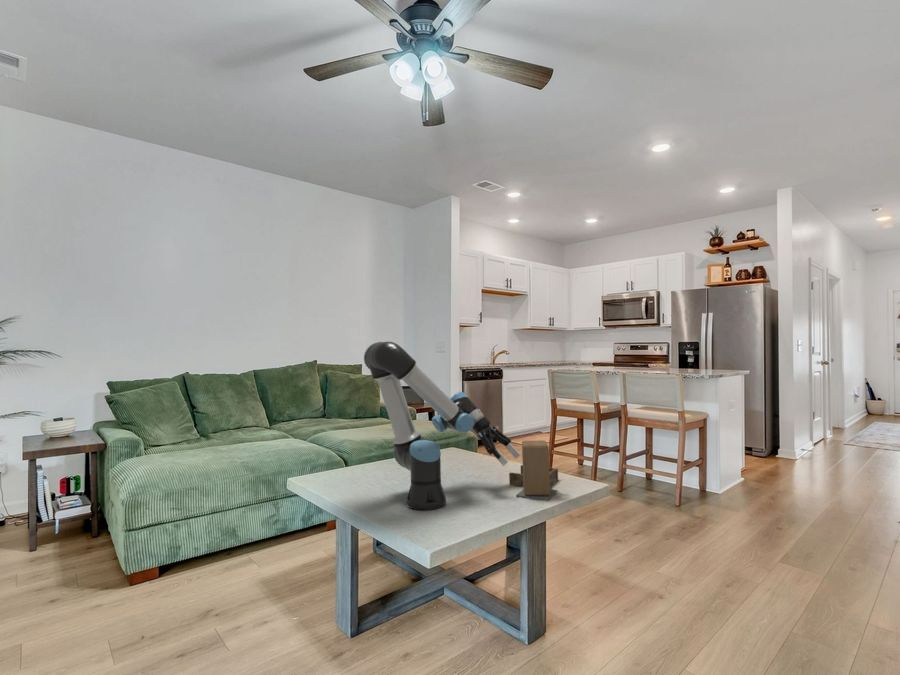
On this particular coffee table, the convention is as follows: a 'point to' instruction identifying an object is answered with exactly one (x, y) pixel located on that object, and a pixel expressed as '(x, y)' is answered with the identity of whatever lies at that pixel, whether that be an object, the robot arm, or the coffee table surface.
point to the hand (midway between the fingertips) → (512, 460)
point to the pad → (544, 498)
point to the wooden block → (535, 468)
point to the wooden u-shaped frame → (518, 478)
